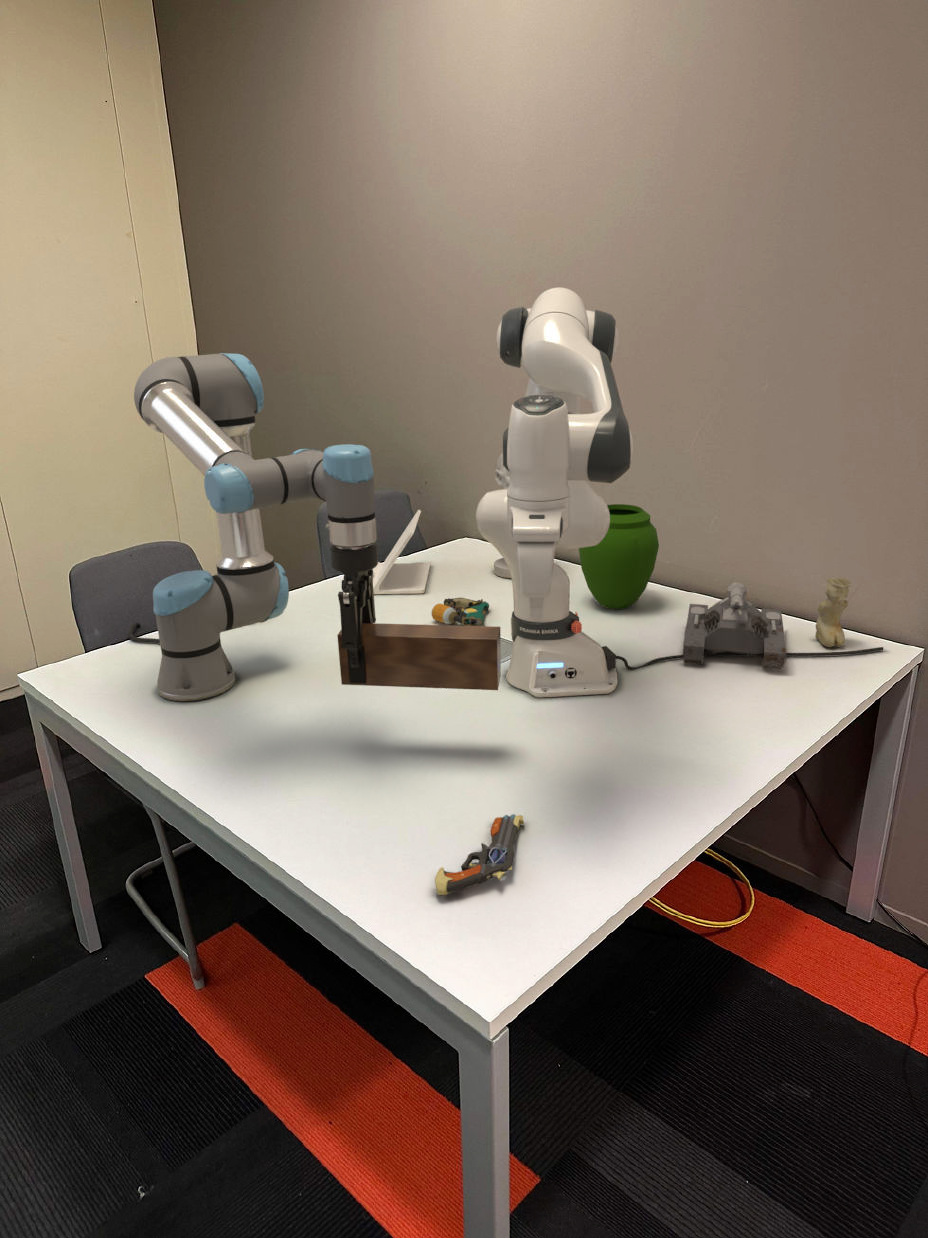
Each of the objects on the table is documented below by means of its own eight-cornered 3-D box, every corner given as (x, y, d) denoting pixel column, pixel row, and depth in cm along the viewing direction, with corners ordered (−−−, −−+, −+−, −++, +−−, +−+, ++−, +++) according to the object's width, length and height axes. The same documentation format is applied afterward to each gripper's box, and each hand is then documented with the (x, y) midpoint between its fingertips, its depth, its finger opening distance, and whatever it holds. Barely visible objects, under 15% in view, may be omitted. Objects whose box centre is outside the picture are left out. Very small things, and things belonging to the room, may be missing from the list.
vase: (599, 587, 227) (601, 497, 218) (668, 600, 216) (673, 505, 208) (562, 608, 212) (564, 513, 204) (634, 623, 202) (639, 523, 193)
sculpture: (821, 649, 184) (830, 583, 179) (808, 637, 191) (816, 573, 185) (848, 649, 184) (858, 582, 179) (834, 636, 191) (843, 572, 185)
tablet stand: (430, 565, 250) (428, 508, 244) (424, 593, 227) (421, 531, 221) (369, 566, 251) (365, 509, 245) (356, 594, 227) (352, 532, 221)
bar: (500, 676, 145) (500, 626, 142) (497, 690, 140) (497, 639, 137) (349, 671, 149) (346, 622, 145) (341, 684, 144) (337, 634, 140)
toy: (688, 623, 201) (692, 562, 195) (778, 630, 195) (785, 567, 190) (681, 666, 178) (686, 598, 173) (783, 675, 172) (791, 605, 167)
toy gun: (430, 883, 110) (506, 883, 108) (458, 810, 128) (523, 809, 126) (433, 901, 111) (508, 901, 109) (460, 826, 129) (525, 825, 127)
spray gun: (451, 605, 219) (505, 614, 213) (420, 623, 205) (478, 633, 199) (451, 589, 218) (506, 598, 212) (421, 606, 203) (478, 616, 197)
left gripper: (346, 527, 146) (355, 652, 155) (313, 560, 129) (325, 698, 137) (388, 528, 145) (395, 653, 154) (362, 561, 128) (371, 699, 136)
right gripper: (520, 498, 131) (520, 584, 136) (511, 533, 112) (512, 631, 117) (561, 498, 130) (560, 584, 135) (559, 533, 111) (558, 631, 116)
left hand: (362, 674), depth 145 cm, fingers closed on bar, 6 cm apart
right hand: (538, 606), depth 126 cm, fingers open, 8 cm apart
